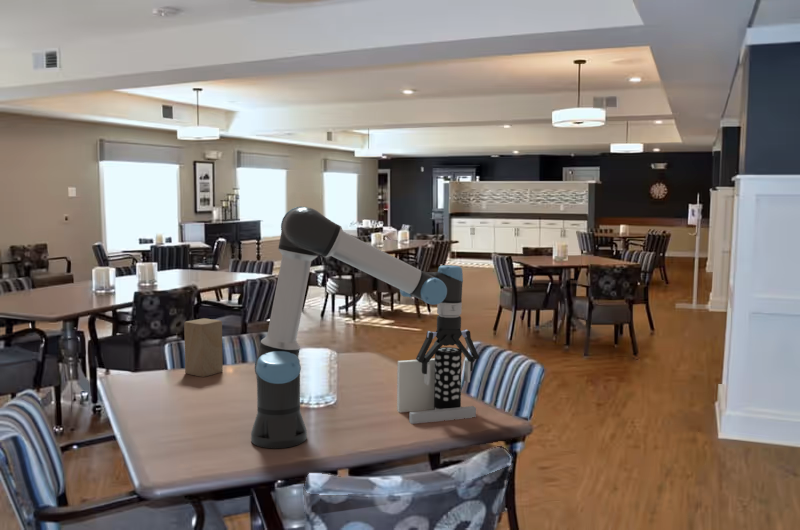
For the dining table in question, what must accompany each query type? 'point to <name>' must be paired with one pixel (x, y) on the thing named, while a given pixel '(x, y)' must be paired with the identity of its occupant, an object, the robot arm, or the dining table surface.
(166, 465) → the dining table surface
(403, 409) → the cleat board
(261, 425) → the robot arm
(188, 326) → the wooden block
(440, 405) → the white-spotted black cylinder
